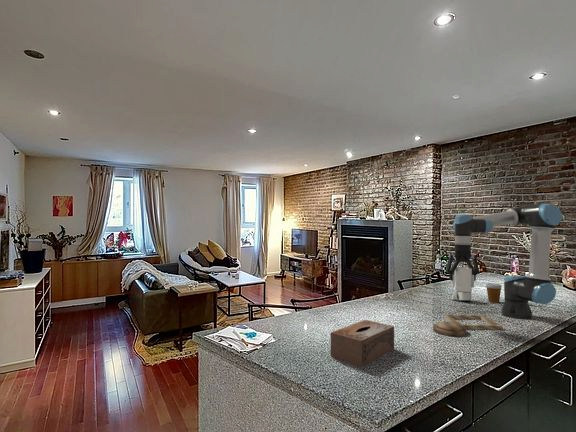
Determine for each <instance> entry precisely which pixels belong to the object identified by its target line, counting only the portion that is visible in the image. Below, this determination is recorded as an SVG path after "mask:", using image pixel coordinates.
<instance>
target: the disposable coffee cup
mask: <svg viewBox="0 0 576 432" xmlns="http://www.w3.org/2000/svg"><path fill="white" fill-rule="evenodd" d="M485 288H486V292H487V293H486V294H487V299H488V303H490V304H491V303H493V304H499V303H500V300H501V299H500V298H501V292H502V288H503V286H502V285H501V284H499V283H492V282H491V283H490V282H489V283H485Z"/></svg>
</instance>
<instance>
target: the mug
mask: <svg viewBox="0 0 576 432" xmlns="http://www.w3.org/2000/svg"><path fill="white" fill-rule="evenodd" d="M454 275H455V287H453V291H454V290H455V291H461V292H471V293H472V292H473V290H472V268H470V269H469V267H468V266H457V268H456V269H455V271H454Z"/></svg>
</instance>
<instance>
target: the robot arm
mask: <svg viewBox="0 0 576 432" xmlns="http://www.w3.org/2000/svg"><path fill="white" fill-rule="evenodd" d="M562 217H563V214H562V211H561V209H560V208H558V206H557V205H555V204H553V203H536V204H525V205H521V206H517V207H513V208H509V209H507V210H505V211H502V212H501V211H500V212H496V213H490V214H484V215H479V216H474V217H472V216H471V215H470V214H457V215H455V219H454V221H453V223H452V228H453V230H454V244H455V245H454V253H453V254H450V253H448V260H447V264H446V268H445V273H447V274H449V275H448V277H449V279H448V280H450V287H452V288H454V287H455V269H456V268H457V267H459V265H460V263H463V262H464V263H466V265H467V267H469V269H470V268H472V288H473V289H474V288H475V282H476V280H477V279H476V277H477V275H480V273H481V272H480V268H479V263H478V260H477V259H478V255H477V254H472V253H471V252H472V251H471V250H472V245H471V243H472V234H489V233H491V232H492V231H493V228H496V227H501V226H506V225H507V226H508V225H510V226H517V225H525V226H526V225H527V226H528V228H529V229H530V230H531V239H530V253H529V262H528V263H529V264H528V267H529V268H528V274H526V275H506V276H505V277H504V280H503V291H504V293H503V294H504V302H503V304H502V306H501V310H500V313H501V315H502V316H505V317H509V318H512V319H532V318H533V312H532V309H531V306H530V304H529V302H532V303H535V304H540V305H541V304H542V305H547V304H549V303H551V302H552V301H554V300H555V298H556V295H557V290H556V287H555V285H554V284H552V279H551V278H550V277H549V267H550V265H549V264H550V255H551V254H550V253H551V239H552V232H554V231H555V230H556V226H557V225H559V224H560V223H561V222H562V219H563V218H562ZM454 258H455V260H454ZM470 259H471V260H472V262H471V260H470ZM453 262H454V263H453ZM472 264H473V265H472Z"/></svg>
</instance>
